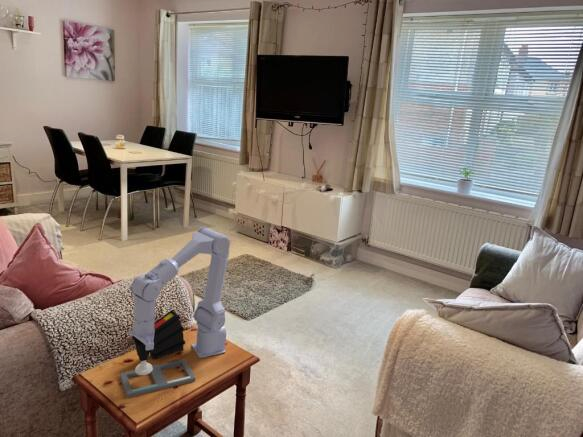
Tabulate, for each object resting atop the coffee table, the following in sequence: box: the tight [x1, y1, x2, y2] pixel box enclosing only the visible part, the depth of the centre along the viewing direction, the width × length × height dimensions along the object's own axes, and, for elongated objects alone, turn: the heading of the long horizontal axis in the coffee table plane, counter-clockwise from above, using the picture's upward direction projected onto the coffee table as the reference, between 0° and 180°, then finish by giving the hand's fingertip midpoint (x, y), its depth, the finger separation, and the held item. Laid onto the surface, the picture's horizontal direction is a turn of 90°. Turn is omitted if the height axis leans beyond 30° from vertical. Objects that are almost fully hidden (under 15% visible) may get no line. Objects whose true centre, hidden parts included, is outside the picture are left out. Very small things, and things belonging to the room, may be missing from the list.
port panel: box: [119, 358, 196, 398], centre depth 132 cm, size 20×10×1 cm, turn 122°
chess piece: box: [134, 360, 153, 376], centre depth 127 cm, size 5×5×10 cm
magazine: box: [149, 309, 186, 361], centre depth 142 cm, size 4×13×15 cm, turn 133°
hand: (142, 357), depth 127 cm, fingers closed on chess piece
